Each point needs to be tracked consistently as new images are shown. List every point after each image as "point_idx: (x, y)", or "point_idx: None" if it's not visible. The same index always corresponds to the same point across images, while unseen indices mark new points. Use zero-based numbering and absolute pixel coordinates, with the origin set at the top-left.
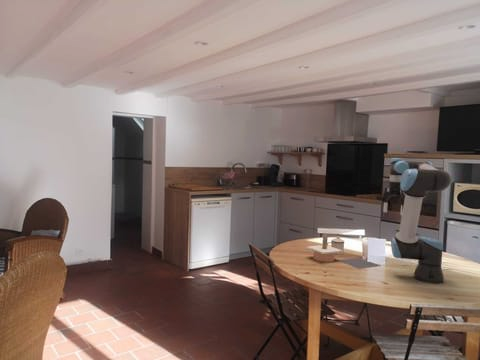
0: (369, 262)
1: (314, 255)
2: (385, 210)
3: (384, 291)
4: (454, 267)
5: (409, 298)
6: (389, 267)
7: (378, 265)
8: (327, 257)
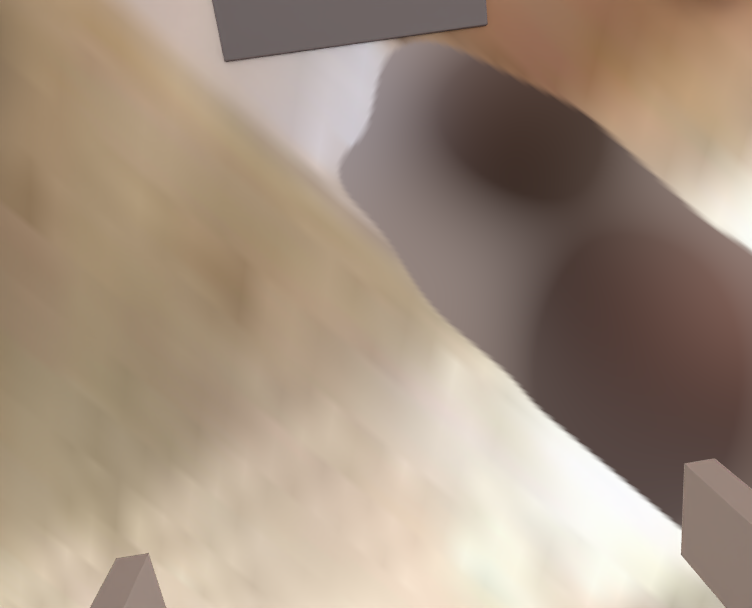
0: (336, 17)
1: None
2: (715, 534)
3: None
4: None
5: None
6: (196, 119)
7: (238, 36)
8: None
